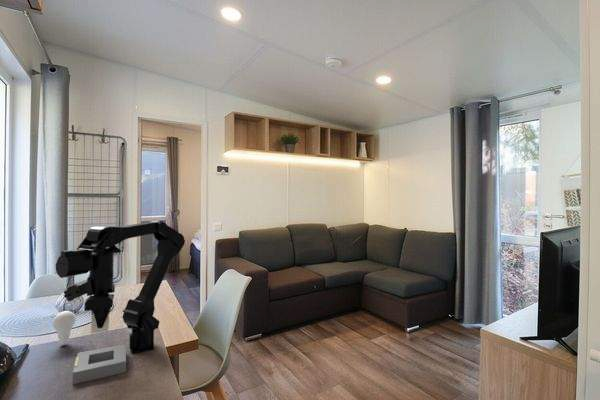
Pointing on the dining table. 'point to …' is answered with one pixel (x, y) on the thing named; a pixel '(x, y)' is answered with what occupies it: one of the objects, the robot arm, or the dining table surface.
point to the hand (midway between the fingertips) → (100, 325)
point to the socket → (99, 363)
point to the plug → (94, 325)
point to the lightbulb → (64, 325)
